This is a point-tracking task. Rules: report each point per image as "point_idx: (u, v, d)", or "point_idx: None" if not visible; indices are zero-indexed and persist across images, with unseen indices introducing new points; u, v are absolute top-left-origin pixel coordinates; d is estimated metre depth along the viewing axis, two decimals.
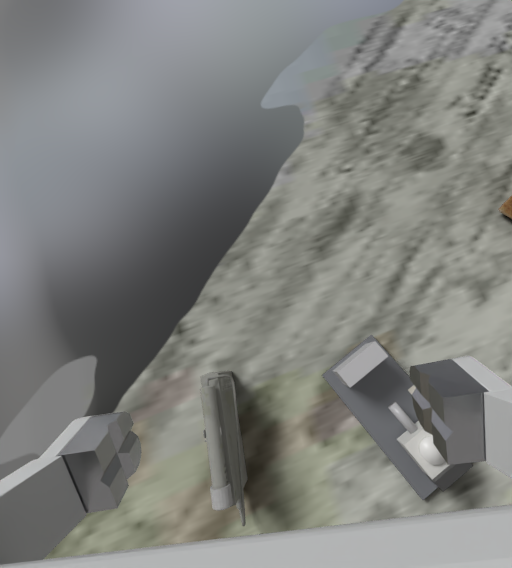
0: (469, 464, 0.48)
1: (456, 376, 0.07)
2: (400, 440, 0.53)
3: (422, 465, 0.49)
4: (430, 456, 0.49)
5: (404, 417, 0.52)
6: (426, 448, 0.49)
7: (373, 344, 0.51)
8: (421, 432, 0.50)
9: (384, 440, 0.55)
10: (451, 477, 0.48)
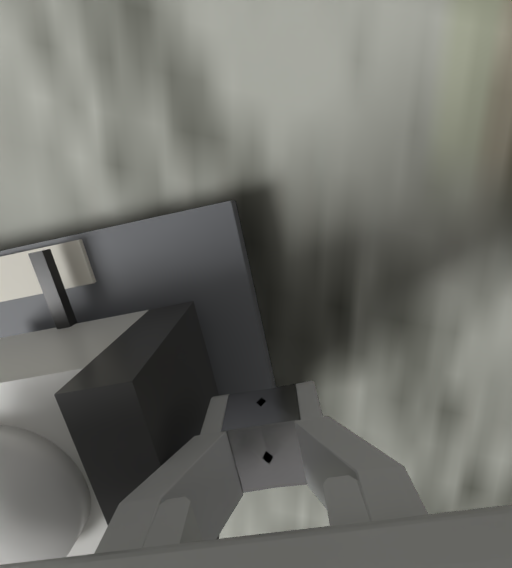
0: (114, 398, 0.06)
1: (285, 402, 0.08)
2: None
3: None
4: (20, 544, 0.08)
5: None
6: None
7: None
8: None
9: None
10: None
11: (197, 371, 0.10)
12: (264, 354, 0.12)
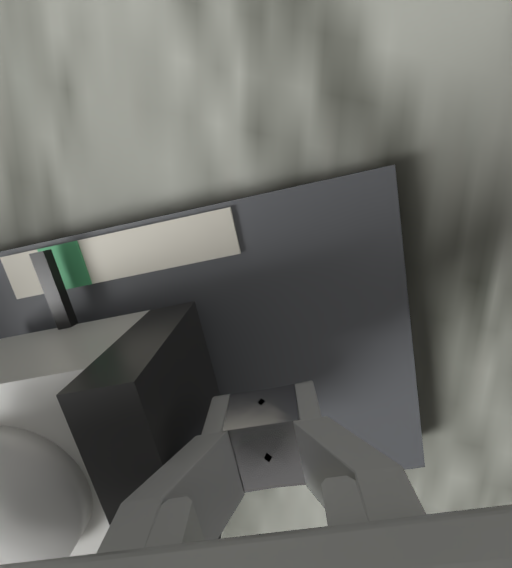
0: (116, 399, 0.06)
1: (284, 403, 0.08)
2: None
3: None
4: (22, 545, 0.08)
5: None
6: None
7: None
8: None
9: None
10: None
11: (198, 371, 0.10)
12: (409, 329, 0.12)
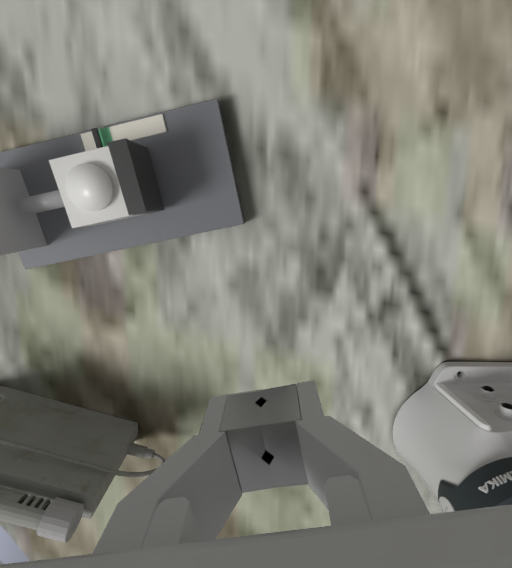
0: (121, 143, 0.26)
1: (286, 402, 0.08)
2: None
3: (109, 217, 0.29)
4: (94, 198, 0.28)
5: (43, 199, 0.30)
6: (81, 197, 0.28)
7: None
8: (60, 188, 0.28)
9: (147, 232, 0.34)
10: (130, 184, 0.27)
11: (147, 166, 0.30)
12: (230, 162, 0.32)
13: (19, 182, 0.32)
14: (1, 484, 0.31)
